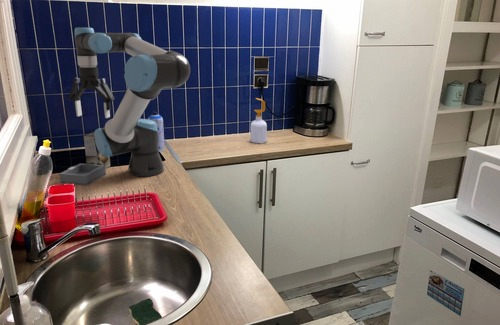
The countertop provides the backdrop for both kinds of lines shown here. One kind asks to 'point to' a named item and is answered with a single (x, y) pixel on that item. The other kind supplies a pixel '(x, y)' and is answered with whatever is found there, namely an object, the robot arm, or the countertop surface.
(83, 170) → the pocket tray
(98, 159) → the coffee box
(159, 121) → the aerosol can
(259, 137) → the soap bottle
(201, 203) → the countertop surface
